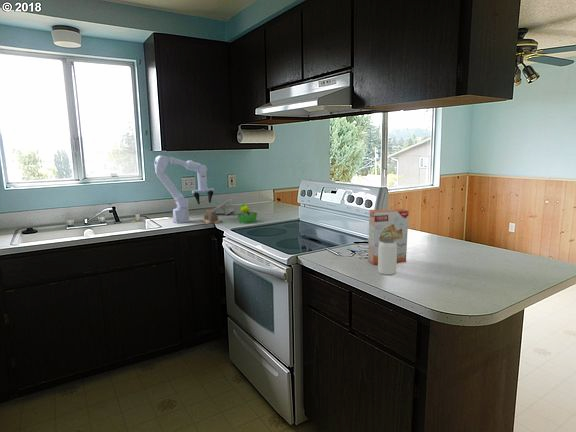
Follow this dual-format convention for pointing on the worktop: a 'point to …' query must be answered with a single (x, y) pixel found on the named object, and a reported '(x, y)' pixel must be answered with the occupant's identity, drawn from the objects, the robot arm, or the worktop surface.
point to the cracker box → (388, 231)
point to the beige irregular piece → (210, 220)
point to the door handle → (224, 207)
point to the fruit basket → (246, 215)
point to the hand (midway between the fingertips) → (204, 203)
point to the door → (211, 215)
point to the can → (387, 256)
